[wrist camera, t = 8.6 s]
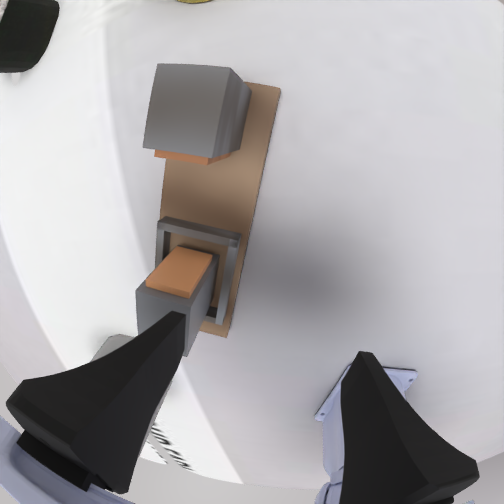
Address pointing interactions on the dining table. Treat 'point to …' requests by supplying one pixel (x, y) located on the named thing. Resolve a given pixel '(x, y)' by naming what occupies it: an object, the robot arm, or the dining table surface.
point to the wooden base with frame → (209, 168)
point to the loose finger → (179, 290)
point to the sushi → (25, 32)
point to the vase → (192, 1)
